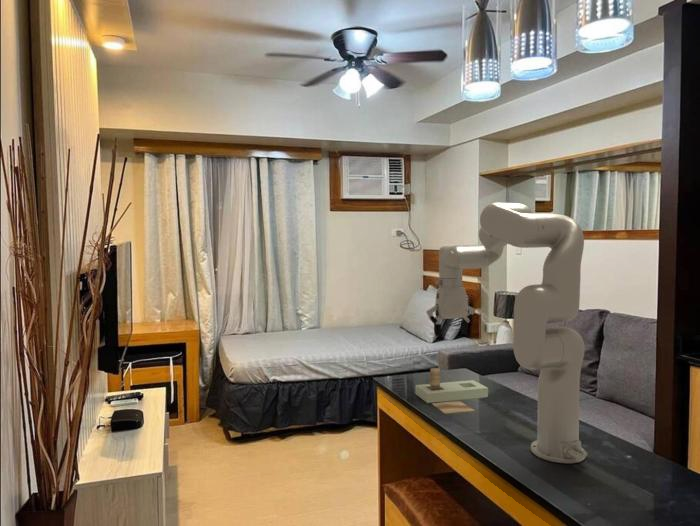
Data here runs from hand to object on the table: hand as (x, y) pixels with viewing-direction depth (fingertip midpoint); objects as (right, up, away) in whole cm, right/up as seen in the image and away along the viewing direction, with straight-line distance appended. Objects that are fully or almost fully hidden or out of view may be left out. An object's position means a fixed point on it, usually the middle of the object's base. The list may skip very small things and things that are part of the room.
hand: (451, 335), depth 166 cm
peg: (-5, -22, +2) cm, 22 cm away
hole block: (+1, -22, +4) cm, 22 cm away
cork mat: (-1, -22, -8) cm, 23 cm away
